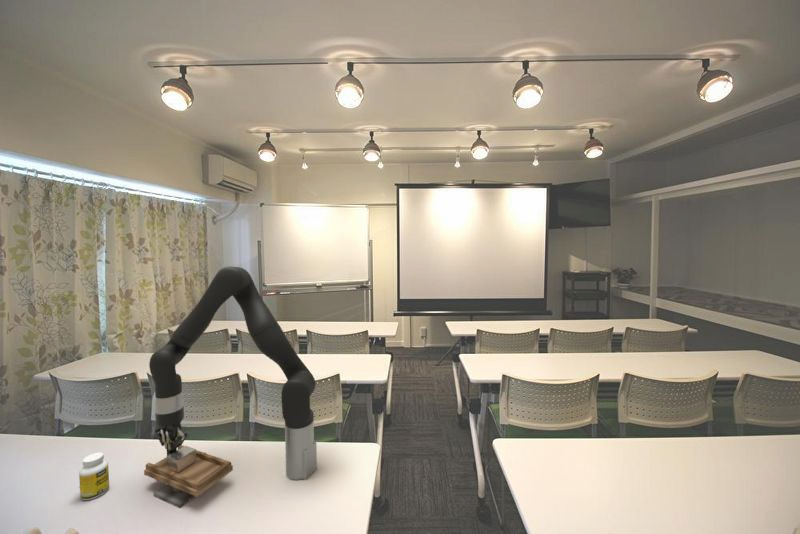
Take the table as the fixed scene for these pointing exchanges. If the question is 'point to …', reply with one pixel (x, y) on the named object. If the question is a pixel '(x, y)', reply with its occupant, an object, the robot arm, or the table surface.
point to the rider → (181, 459)
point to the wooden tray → (188, 477)
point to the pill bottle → (94, 476)
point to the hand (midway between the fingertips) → (172, 458)
